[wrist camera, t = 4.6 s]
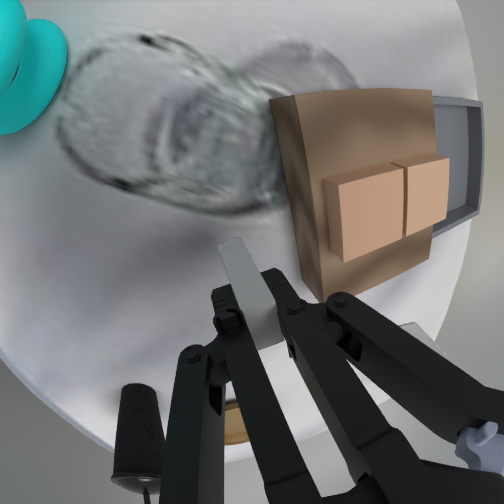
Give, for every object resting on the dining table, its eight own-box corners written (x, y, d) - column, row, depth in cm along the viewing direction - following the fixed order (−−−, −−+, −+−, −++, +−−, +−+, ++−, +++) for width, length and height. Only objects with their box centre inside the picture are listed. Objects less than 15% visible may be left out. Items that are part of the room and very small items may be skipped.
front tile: (322, 177, 18) (338, 185, 16) (386, 162, 19) (403, 168, 17) (330, 250, 21) (343, 262, 19) (387, 228, 22) (401, 238, 20)
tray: (397, 95, 21) (418, 96, 18) (465, 98, 23) (482, 101, 20) (402, 234, 29) (419, 244, 27) (465, 206, 31) (479, 213, 29)
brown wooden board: (269, 99, 19) (294, 95, 15) (395, 88, 21) (431, 90, 16) (302, 280, 28) (324, 309, 24) (401, 239, 30) (428, 258, 26)
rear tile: (390, 161, 19) (407, 167, 17) (433, 152, 19) (449, 157, 18) (391, 227, 22) (405, 236, 20) (431, 210, 22) (445, 218, 21)
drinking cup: (154, 411, 33) (172, 533, 16) (106, 397, 29) (109, 528, 12) (176, 387, 31) (202, 530, 14) (121, 370, 28) (127, 528, 11)
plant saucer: (230, 384, 34) (234, 399, 32) (294, 401, 41) (299, 413, 39) (174, 425, 37) (176, 438, 34) (239, 437, 44) (242, 448, 42)
